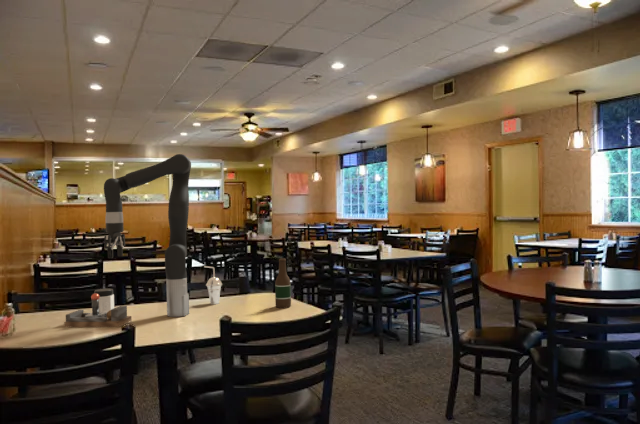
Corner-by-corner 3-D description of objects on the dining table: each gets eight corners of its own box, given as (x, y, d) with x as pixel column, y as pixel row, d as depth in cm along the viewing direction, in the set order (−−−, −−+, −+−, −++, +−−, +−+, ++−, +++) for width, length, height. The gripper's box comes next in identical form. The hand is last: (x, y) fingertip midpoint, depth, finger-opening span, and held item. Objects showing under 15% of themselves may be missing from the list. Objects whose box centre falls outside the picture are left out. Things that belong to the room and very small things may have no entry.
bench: (131, 320, 218) (131, 304, 218) (117, 327, 206) (117, 310, 206) (80, 320, 221) (80, 305, 221) (64, 326, 209) (64, 310, 209)
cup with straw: (220, 305, 249) (220, 266, 249) (203, 305, 250) (202, 266, 249) (224, 301, 258) (223, 264, 258) (207, 302, 258) (206, 264, 258)
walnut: (118, 318, 215) (118, 309, 215) (113, 320, 211) (113, 310, 211) (109, 318, 215) (109, 309, 215) (104, 320, 211) (104, 310, 211)
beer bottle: (294, 305, 243) (293, 258, 243) (285, 308, 237) (283, 259, 237) (281, 304, 248) (280, 257, 247) (272, 307, 241) (271, 259, 241)
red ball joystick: (108, 316, 217) (108, 292, 217) (100, 320, 210) (99, 294, 210) (93, 316, 217) (93, 292, 217) (84, 320, 211) (84, 294, 210)
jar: (95, 317, 225) (94, 292, 225) (92, 314, 232) (92, 289, 232) (116, 315, 230) (115, 289, 230) (112, 312, 237) (112, 287, 237)
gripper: (114, 222, 215) (115, 258, 216) (129, 221, 230) (130, 255, 230) (98, 222, 216) (99, 259, 216) (114, 221, 230) (115, 255, 230)
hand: (115, 257), depth 223 cm, fingers open, 8 cm apart
